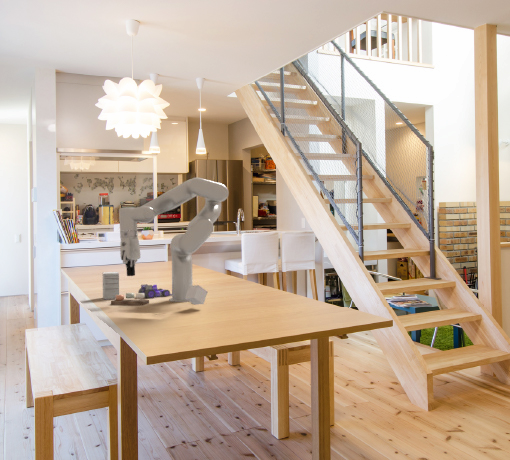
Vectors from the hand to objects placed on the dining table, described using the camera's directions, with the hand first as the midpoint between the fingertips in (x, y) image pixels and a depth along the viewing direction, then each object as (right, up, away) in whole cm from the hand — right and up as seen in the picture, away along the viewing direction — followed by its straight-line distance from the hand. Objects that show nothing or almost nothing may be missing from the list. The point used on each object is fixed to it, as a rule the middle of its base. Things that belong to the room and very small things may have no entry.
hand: (131, 275), depth 215 cm
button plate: (0, -13, -1) cm, 13 cm away
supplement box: (-15, -13, +19) cm, 27 cm away
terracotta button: (-5, -11, +1) cm, 12 cm away
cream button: (+5, -10, -2) cm, 11 cm away
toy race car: (+6, -13, +24) cm, 28 cm away
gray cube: (+30, -12, -7) cm, 33 cm away
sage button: (0, -10, -1) cm, 10 cm away
